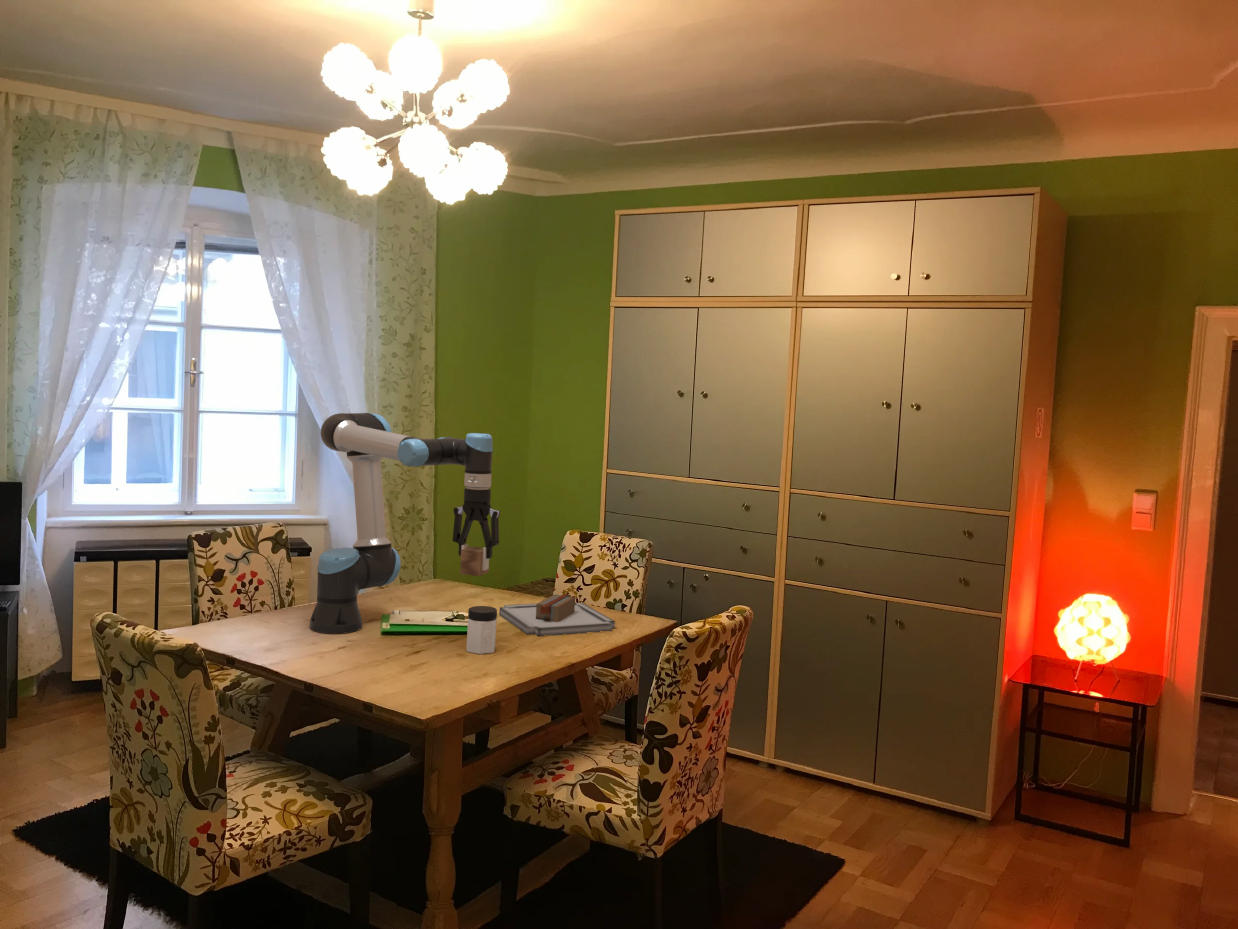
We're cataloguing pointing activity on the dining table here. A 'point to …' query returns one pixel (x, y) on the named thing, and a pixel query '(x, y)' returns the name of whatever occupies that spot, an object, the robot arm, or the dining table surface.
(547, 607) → the grey tray
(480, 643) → the jar
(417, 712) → the dining table surface
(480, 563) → the walnut block
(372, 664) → the dining table surface
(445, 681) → the dining table surface
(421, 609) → the dining table surface
